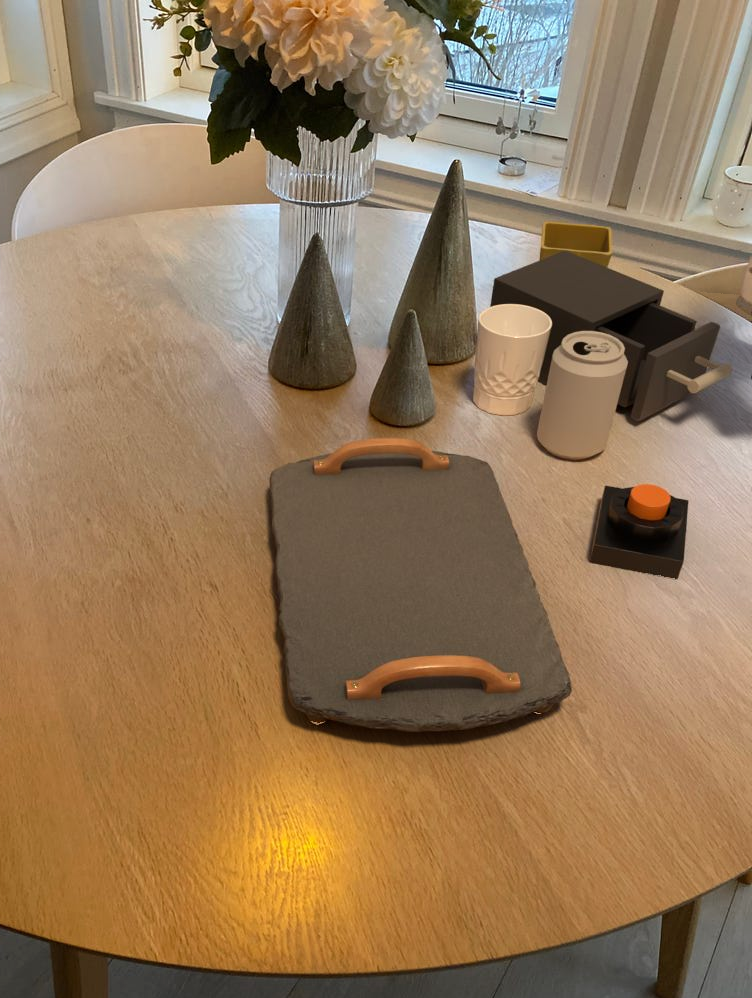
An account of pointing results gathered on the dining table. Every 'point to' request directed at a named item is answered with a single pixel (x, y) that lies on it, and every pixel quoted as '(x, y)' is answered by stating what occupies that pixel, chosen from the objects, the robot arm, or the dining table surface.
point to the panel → (639, 536)
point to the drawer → (663, 357)
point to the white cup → (509, 357)
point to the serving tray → (407, 592)
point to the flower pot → (577, 241)
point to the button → (648, 502)
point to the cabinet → (572, 296)
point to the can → (582, 394)
